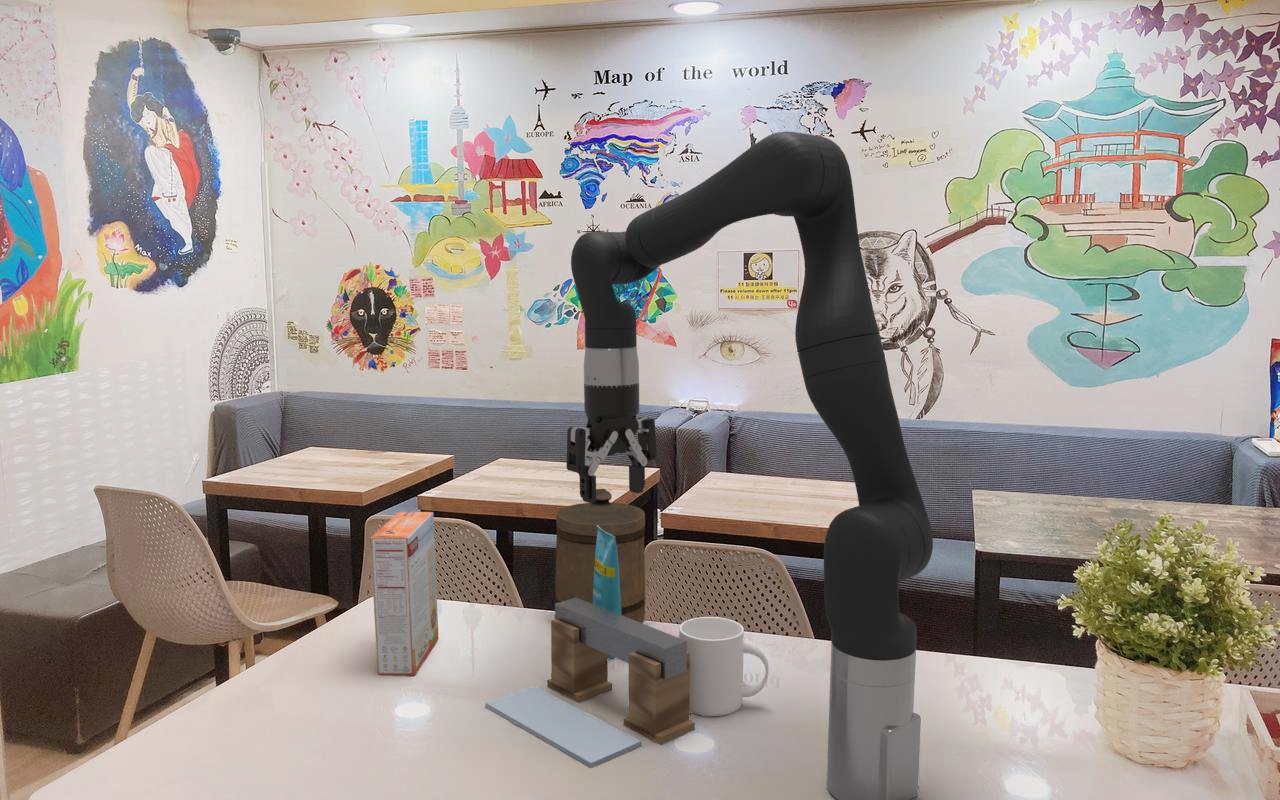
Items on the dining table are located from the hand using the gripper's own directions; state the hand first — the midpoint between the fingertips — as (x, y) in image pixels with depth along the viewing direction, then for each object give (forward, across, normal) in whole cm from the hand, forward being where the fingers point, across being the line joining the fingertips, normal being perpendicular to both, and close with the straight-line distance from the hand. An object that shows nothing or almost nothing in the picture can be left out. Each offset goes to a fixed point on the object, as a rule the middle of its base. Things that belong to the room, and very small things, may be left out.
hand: (613, 496), depth 140 cm
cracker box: (+26, -17, +28) cm, 42 cm away
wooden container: (+27, +15, +21) cm, 37 cm away
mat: (+27, -14, -5) cm, 31 cm away
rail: (+19, -5, -6) cm, 21 cm away
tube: (+27, +6, +9) cm, 29 cm away
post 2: (+27, -5, -14) cm, 31 cm away
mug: (+27, +6, -15) cm, 32 cm away
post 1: (+27, -5, +2) cm, 27 cm away
